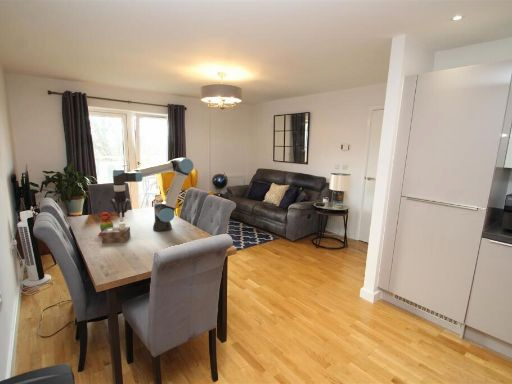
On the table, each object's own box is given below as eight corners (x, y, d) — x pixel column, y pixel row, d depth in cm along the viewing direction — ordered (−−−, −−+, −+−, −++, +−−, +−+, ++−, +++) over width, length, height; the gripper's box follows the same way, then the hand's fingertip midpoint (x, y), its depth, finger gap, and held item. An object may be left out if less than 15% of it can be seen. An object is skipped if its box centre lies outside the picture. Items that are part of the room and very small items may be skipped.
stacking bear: (97, 236, 205) (95, 214, 202) (101, 232, 215) (99, 211, 212) (113, 235, 208) (111, 213, 205) (116, 231, 218) (114, 210, 215)
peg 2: (126, 232, 201) (125, 222, 200) (124, 233, 197) (124, 223, 196) (120, 232, 200) (120, 222, 199) (119, 233, 196) (118, 224, 195)
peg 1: (114, 238, 200) (113, 228, 199) (112, 240, 196) (111, 230, 195) (108, 238, 200) (107, 229, 198) (106, 240, 196) (105, 230, 194)
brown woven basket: (130, 236, 206) (129, 226, 205) (125, 242, 194) (124, 231, 193) (108, 237, 203) (107, 227, 202) (102, 243, 192) (101, 232, 190)
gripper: (130, 189, 198) (132, 219, 202) (112, 189, 196) (114, 220, 200) (127, 191, 191) (129, 222, 195) (108, 191, 188) (110, 223, 192)
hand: (121, 221), depth 197 cm, fingers closed
